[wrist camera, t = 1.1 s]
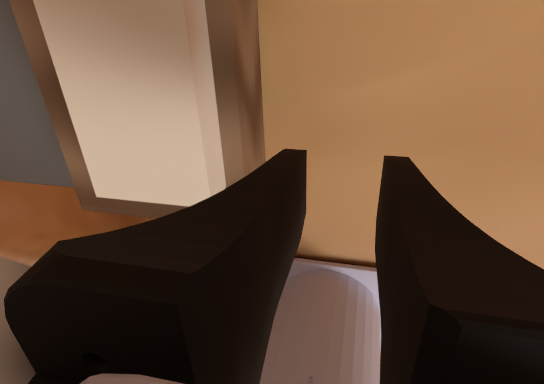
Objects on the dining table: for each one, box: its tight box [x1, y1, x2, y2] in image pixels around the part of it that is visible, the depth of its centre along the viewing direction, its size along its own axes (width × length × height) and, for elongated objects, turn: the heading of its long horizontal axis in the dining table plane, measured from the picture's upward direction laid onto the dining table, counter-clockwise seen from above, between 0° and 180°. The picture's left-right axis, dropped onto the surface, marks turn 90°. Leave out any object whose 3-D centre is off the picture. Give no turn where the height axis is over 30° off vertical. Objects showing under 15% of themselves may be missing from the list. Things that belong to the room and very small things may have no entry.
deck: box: [9, 0, 265, 218], centre depth 20 cm, size 14×10×4 cm
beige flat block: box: [33, 0, 226, 207], centre depth 17 cm, size 9×6×2 cm, turn 2°
